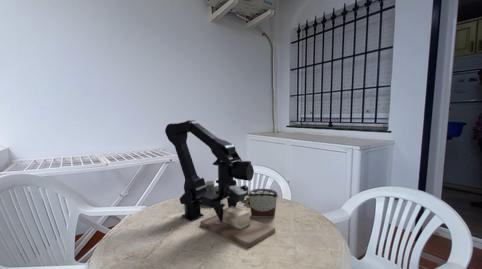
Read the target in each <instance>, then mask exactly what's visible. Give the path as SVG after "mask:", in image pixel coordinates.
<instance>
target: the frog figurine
mask: <svg viewBox="0 0 482 269" xmlns="http://www.w3.org/2000/svg"><path fill="white" fill-rule="evenodd" d="M245 199H246V200H243V201H239V202H238V203H237V205H236V207H241V208H245V207H247V208H250V200H249V196H247V197H245ZM240 202H241V203H240Z"/></svg>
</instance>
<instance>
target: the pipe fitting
mask: <svg viewBox="0 0 482 269" xmlns="http://www.w3.org/2000/svg"><path fill="white" fill-rule="evenodd" d="M205 184H206V186H207V187H206V193H205V195H204V196H207V195H214V196H219V194H216V191H218V185H215V181H214V180H208V181H205ZM199 202H200V204H202V200H200V201H199Z"/></svg>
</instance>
